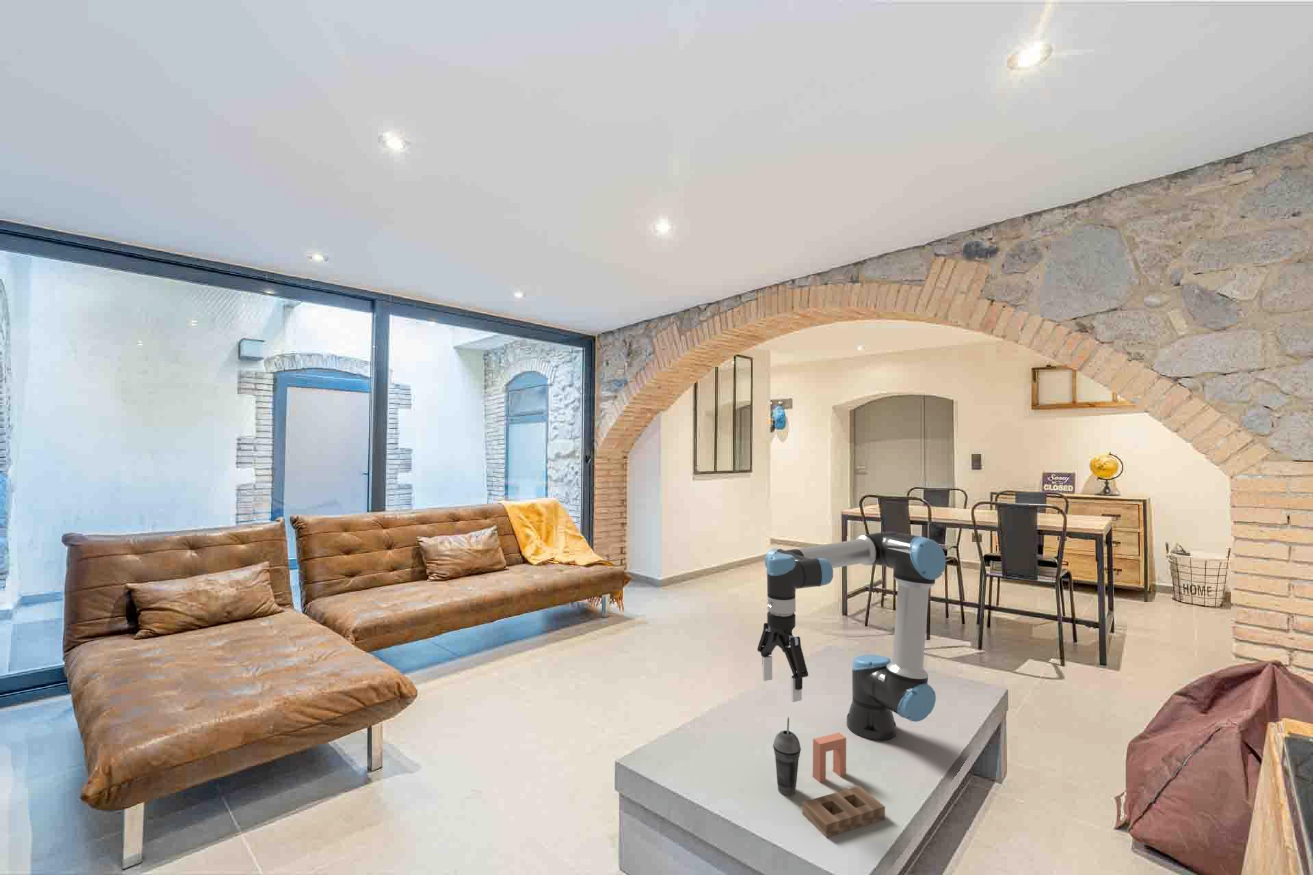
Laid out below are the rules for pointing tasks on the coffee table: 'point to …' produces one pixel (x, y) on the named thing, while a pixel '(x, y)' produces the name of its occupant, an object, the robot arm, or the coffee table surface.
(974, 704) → the coffee table surface
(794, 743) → the beverage cup
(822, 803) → the slotted wooden board
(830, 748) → the block
